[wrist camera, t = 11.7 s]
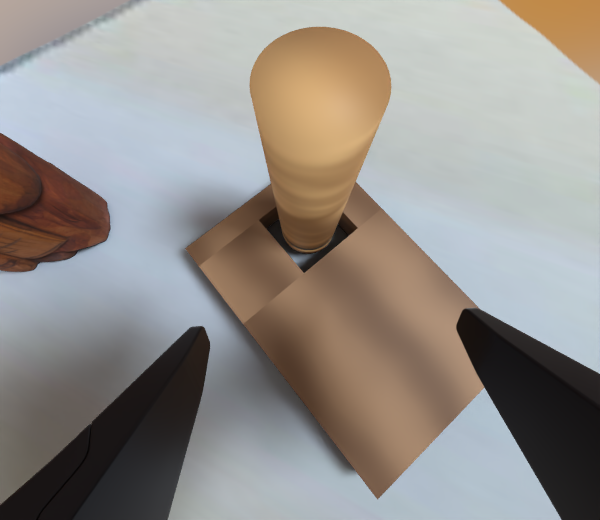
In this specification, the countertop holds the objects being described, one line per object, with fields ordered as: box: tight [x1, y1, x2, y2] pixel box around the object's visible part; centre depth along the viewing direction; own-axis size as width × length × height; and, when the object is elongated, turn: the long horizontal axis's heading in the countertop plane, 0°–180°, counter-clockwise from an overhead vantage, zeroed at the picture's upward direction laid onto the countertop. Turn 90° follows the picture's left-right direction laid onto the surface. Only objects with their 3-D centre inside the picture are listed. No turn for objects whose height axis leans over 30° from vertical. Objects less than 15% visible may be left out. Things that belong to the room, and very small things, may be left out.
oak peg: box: [250, 27, 391, 254], centre depth 14 cm, size 4×4×14 cm
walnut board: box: [185, 182, 484, 499], centre depth 18 cm, size 13×20×2 cm, turn 40°
